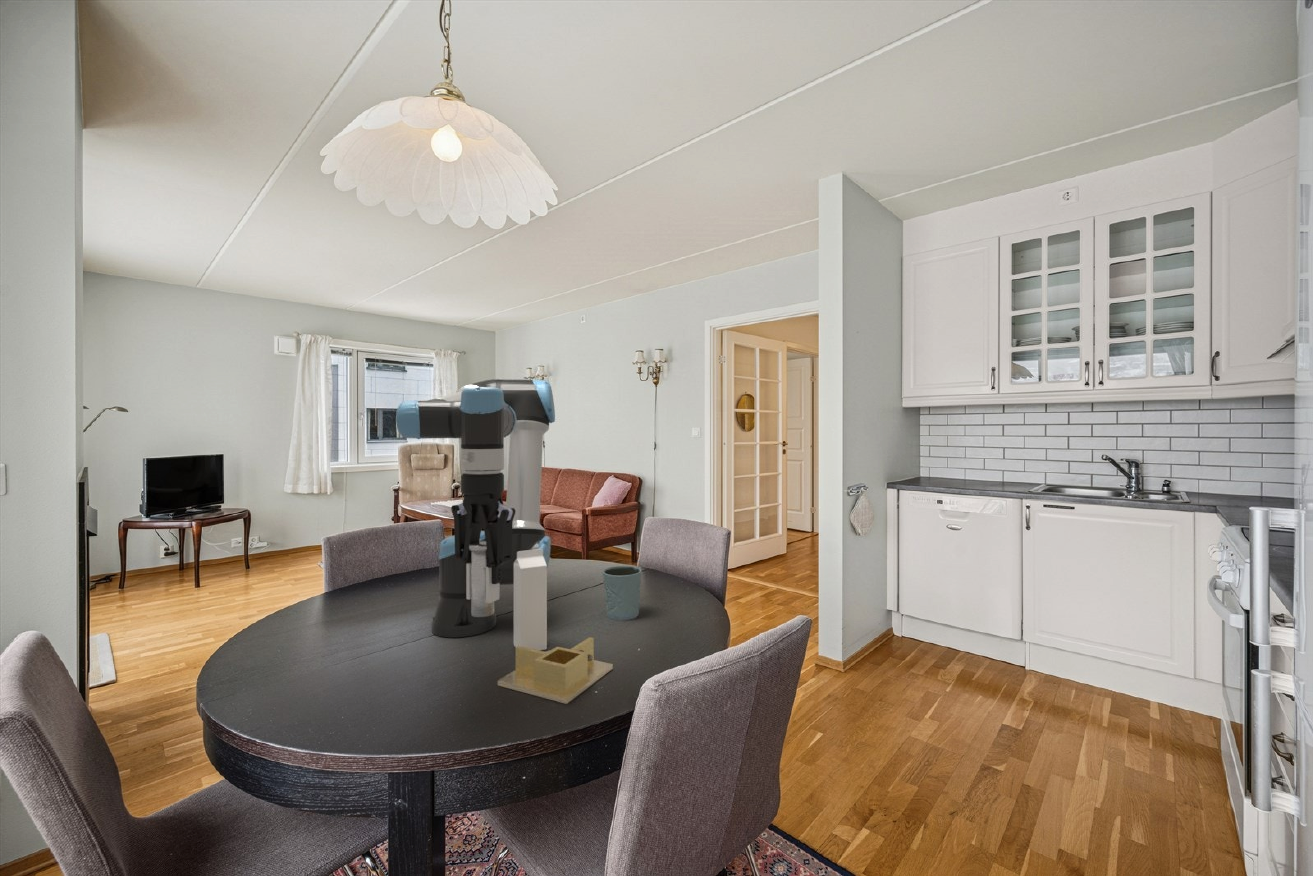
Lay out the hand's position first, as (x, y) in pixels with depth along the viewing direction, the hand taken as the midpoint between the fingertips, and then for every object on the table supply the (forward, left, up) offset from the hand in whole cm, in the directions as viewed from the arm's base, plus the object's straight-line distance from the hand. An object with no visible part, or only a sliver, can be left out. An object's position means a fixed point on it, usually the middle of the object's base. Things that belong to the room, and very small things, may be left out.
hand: (482, 598), depth 99 cm
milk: (-7, +22, -18) cm, 29 cm away
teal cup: (+1, +50, -18) cm, 53 cm away
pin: (0, 0, -3) cm, 3 cm away
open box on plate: (+8, +12, -18) cm, 23 cm away
